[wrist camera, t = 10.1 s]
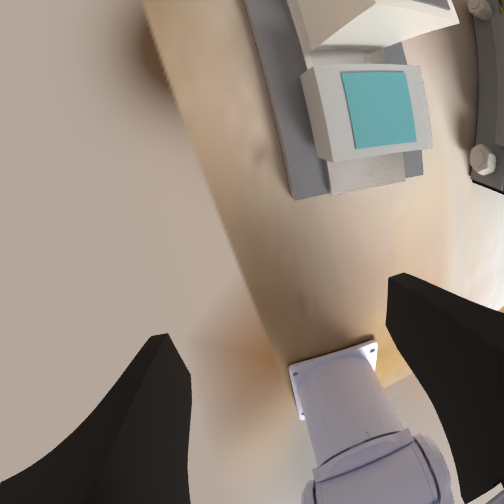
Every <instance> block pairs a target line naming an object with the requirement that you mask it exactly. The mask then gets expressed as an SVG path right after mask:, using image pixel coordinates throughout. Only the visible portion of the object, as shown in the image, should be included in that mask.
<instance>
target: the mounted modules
mask: <svg viewBox="0 0 504 504" xmlns="http://www.w3.org/2000/svg"><path fill="white" fill-rule="evenodd" d="M300 80H301V84H302V88H303V92H304V96H305V101H306V105H307V109H308V114H309V119H310V123H311V128H312V133H313V138H314V143H315V148H316V154H317V157H318V158H321V159H324V160H327V161H330V162H333V163H335V162H340V161H346V160H352V159H358V158H364V157H371V156H377V155H384V154H391V153H399V152H406V151H415V150H423V149H432V148H433V144H432V135H431V126H430V119H429V112H428V106H427V100H426V94H425V89H424V84H423V79H422V75H421V70H420V66H412V65H397V64H340V65H323V66H313V67H311V68H310V69H308V70H307V71H306V72H304V73H303V74H301V75H300Z"/></svg>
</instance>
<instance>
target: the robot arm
mask: <svg viewBox="0 0 504 504" xmlns="http://www.w3.org/2000/svg"><path fill="white" fill-rule="evenodd" d="M386 327H387V329H388V331H389V333H390V335H391V337H392V339H393V341H394V343H395V345H396V347H397V349H398V350H399V352H400V353H401V355H402V356H403V358H404V359H405V361H406V362H407V364H408V365H409V367H410V368H411V370H412V371H413V373H414V374H415V376H416V377H417V379H418V380H419V382H420V384H421V385H422V387H423V388H424V390H425V391H426V393H427V394H428V396H429V398H430V400H431V402H432V403H433V405H434V407H435V410H436V412H437V414H438V417H439V419H440V421H441V423H442V426H443V428H444V431H445V434H446V437H447V439H448V442H449V445H450V448H451V452H452V455H453V458H454V462H455V465H456V470H457V474H458V480H459V484H460V491H461V497H462V498H463V501H464V503H465V504H467V503H469V502H471V501H473V500H474V499H476V498H478V497H479V496H481V495H483V494H484V493H486V492H488V491H489V490H491V489H492V488H494V487H495V486H497V485H498V484H499V483H500V482H501V484H502V485H503V488H504V313H502V312H498V311H496V310H493V309H490V308H487V307H485V306H482V305H479V304H477V303H474V302H472V301H469V300H467V299H465V298H462V297H460V296H458V295H455V294H453V293H451V292H449V291H446V290H444V289H442V288H440V287H437V286H435V285H433V284H431V283H428V282H426V281H424V280H422V279H419V278H417V277H414V276H412V275H409V274H406V273H401V274H398V275H395V276H392V277H389V278H388V299H387V314H386ZM377 347H378V343H377V342H376V340H370V341H368V342H365V343H362V344H359V345H356V346H353V347H350V348H347V349H344V350H340V351H337V352H334V353H331V354H327V355H324V356H320V357H317V358H313V359H310V360H306V361H302V362H299V363H295V364H292V365H290V366H289V368H288V370H289V374H290V379H291V383H292V387H293V392H294V396H295V401H296V405H297V410H298V414H299V418H300V420H306V424H307V427H308V431H309V435H310V439H311V443H312V446H313V450H314V454H315V458H316V462H317V466H318V467H317V468H315V469H313V470H312V471H313V475H314V479H313V480H310V481H308V483H307V484H306V487H305V488H304V490H303V492H302V504H454V499H453V495H452V491H451V477H450V473H449V470H448V468H447V464H446V462H445V460H444V458H443V456H442V453H441V452H440V450H439V448H438V446H437V445H436V443H435V442H434V441H433V439H432V438H431V437H429V436H426V435H423V434H421V433H419V434H416V435H415V436H413V437H412V435H411V433H410V431H409V429H408V428H406V429H404V428H403V426H402V424H401V422H400V420H399V418H398V416H397V414H396V412H395V410H394V408H393V406H392V404H391V402H390V400H389V398H388V396H387V394H386V392H385V391H384V389H383V387H382V385H381V383H380V381H379V379H378V377H377V375H376V373H375V366H376V357H377ZM295 372H296V373H295ZM191 406H192V390H191V375H190V373H189V371H188V369H187V367H186V366H185V364H184V362H183V360H182V359H181V357H180V355H179V353H178V351H177V349H176V348H175V346H174V344H173V342H172V340H171V338H170V336H169V334H167V333H166V334H161V335H155V336H151V337H150V338H149V339H148V341H147V342H146V343H145V344H144V346H143V347H142V348H141V350H140V351H139V352H138V354H137V355H136V356H135V358H134V359H133V360H132V362H131V363H130V364H129V366H128V367H127V368H126V370H125V371H124V372H123V374H122V375H121V377H120V378H119V379H118V381H117V382H116V383H115V385H114V386H113V387H112V388H111V390H110V391H109V392H108V393H107V395H106V396H105V397H104V398H103V400H102V401H101V402H100V403H99V405H98V406H97V407H96V408H95V409H94V410H93V412H92V413H91V414H90V415H89V416H88V417H87V418H86V419H85V421H83V422H82V423H81V424H80V426H79V427H78V428H77V429H76V430H75V431H74V432H73V433H71V434H70V435H69V436H68V437H67V438H66V439H65V440H64V441H63V442H61V443H60V444H59V445H58V446H57V447H56V448H54V449H53V450H52V451H51V452H50V453H48V454H47V455H46V456H44V457H43V458H42V459H40V460H39V461H37V462H36V463H34V464H33V465H32V466H30V467H28V468H27V469H25V470H23V471H22V472H20V473H18V474H16V475H14V476H12V477H11V478H9V479H7V480H5V481H2V482H1V483H0V504H191V503H190V495H189V484H188V470H187V462H188V444H189V431H190V418H191ZM486 504H504V490H502V491H501V492H500V493H499V494H497V495H496V496H495V497H494V498H492V499H491V500H490V501H489V502H487V503H486Z"/></svg>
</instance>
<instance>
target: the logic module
mask: <svg viewBox="0 0 504 504" xmlns="http://www.w3.org/2000/svg"><path fill="white" fill-rule="evenodd" d="M297 2H298V5H299V8H300V11H301V14H302V17H303V21H304V24H305V27H306V31H307V34H308V38H309V41H310V45H311V49H312V51H327V50H369V51H378V50H380V49H383V48H385V47H388V46H391V45H393V44H396V43H399V42H401V41H404V40H407V39H410V38H413V37H415V36H418V35H421V34H425V33H428V32H431V31H434V30H437V29H441V28H444V27H448V26H452V25H456V24H459V23H460V22H459V19H458V16H457V14H456V11H455V8H454V6H453V3H452V1H451V0H297Z"/></svg>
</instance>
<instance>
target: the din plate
mask: <svg viewBox="0 0 504 504" xmlns="http://www.w3.org/2000/svg"><path fill="white" fill-rule="evenodd" d="M243 2H244V5H245V8H246V12H247V15H248V18H249V22H250V25H251V29H252V32H253V36H254V39H255V43H256V46H257V50H258V54H259V57H260V61H261V65H262V69H263V73H264V76H265V80H266V84H267V88H268V92H269V96H270V100H271V105H272V109H273V113H274V117H275V122H276V126H277V130H278V135H279V139H280V144H281V149H282V153H283V158H284V163H285V167H286V172H287V177H288V182H289V187H290V192H291V197H292V198H293V199H294V200H300V199H304V198H309V197H313V196H318V195H322V194H327V193H328V186H327V180H326V174H325V168H324V162H323V159H321V158H318V157H317V154H316V148H315V143H314V138H313V133H312V128H311V123H310V119H309V114H308V109H307V105H306V101H305V96H304V92H303V88H302V84H301V80H300V75H301V74H303V73H304V68H303V65H302V61H301V57H300V53H299V50H298V46H297V43H296V39H295V36H294V33H293V29H292V26H291V23H290V19H289V16H288V13H287V10H286V7H285V4H284V1H283V0H243ZM383 50H384V54H385V58H386V61H387V64H397V65H407V62H406V58H405V55H404V51H403V47H402V44H401V42H399V43H396V44H393V45H391V46H388V47H385V48H383ZM403 159H404V170H405V178H408V177H414V176H419V175H423V162H422V151H421V150H415V151H406V152H403Z"/></svg>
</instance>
